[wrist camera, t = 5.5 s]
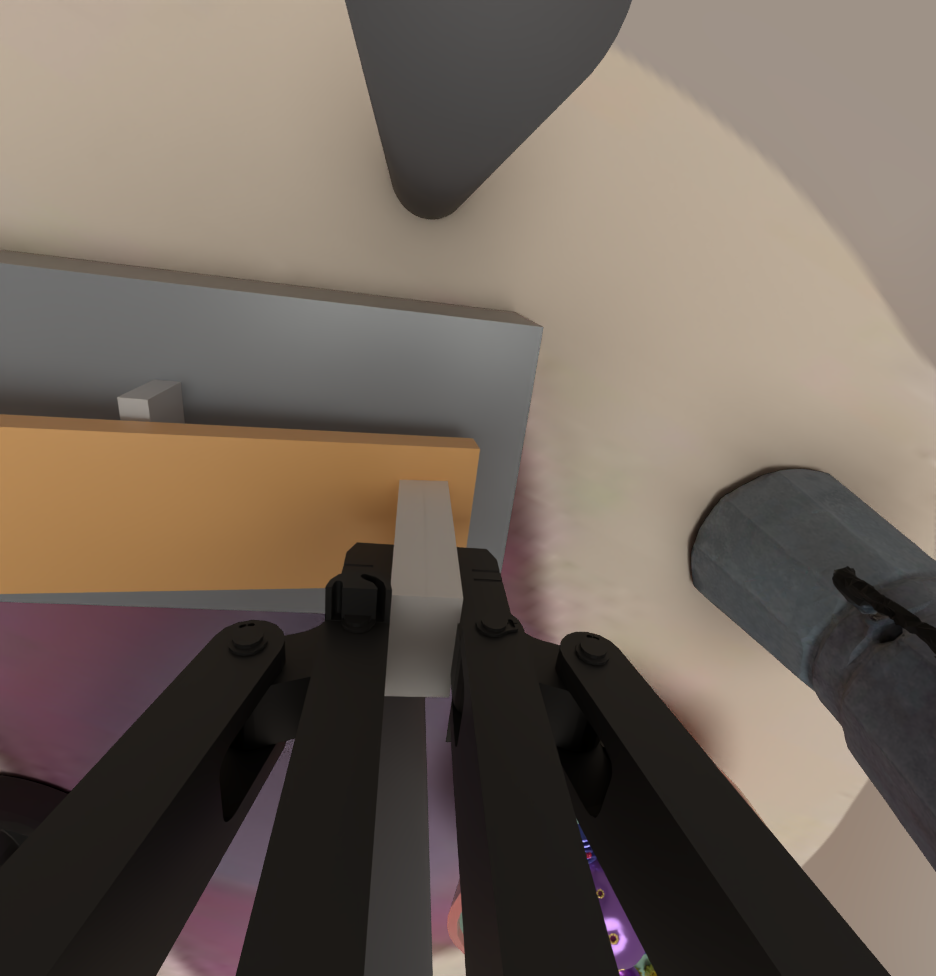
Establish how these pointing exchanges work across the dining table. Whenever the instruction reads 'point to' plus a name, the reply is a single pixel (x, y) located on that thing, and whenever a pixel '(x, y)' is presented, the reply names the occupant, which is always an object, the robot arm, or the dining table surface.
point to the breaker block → (264, 376)
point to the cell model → (624, 941)
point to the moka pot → (837, 620)
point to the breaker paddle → (204, 502)
